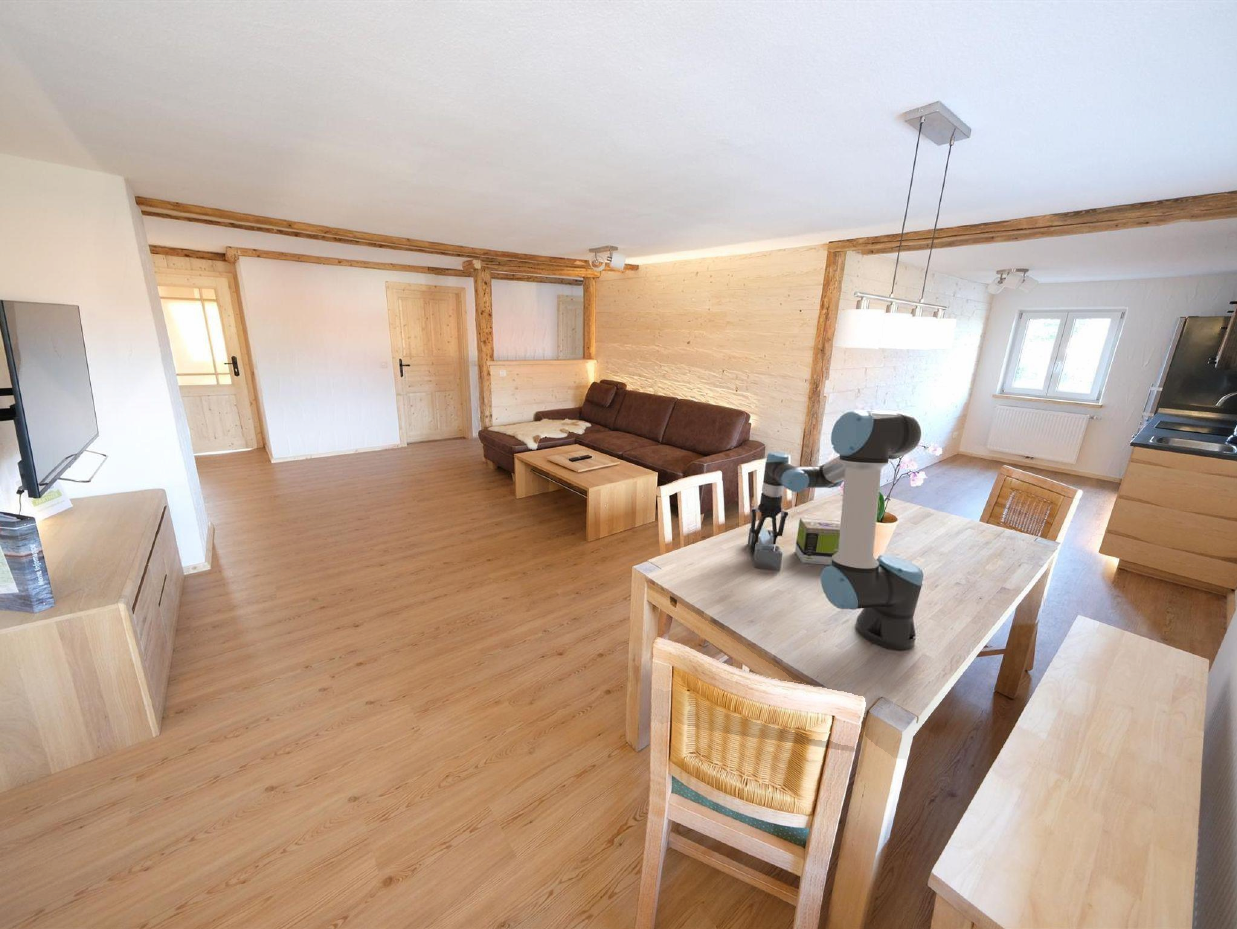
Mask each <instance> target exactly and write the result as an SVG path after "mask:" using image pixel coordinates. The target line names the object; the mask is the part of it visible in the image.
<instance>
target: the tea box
mask: <svg viewBox="0 0 1237 929" xmlns="http://www.w3.org/2000/svg"><path fill="white" fill-rule="evenodd" d="M798 522H799V523H798V529H797V536H796V542H795V551H794V552H795V554H796V555H797V557H798V559H799V560H800V562H801V563H802V564H811V565H813V564H815V565H826V566H831V562H832V556H833V555H834V554H835V553H837V552H838V550H839V537H840V524H841V521H840V520H834V519H833V520H832V519H819V518H802V517H800V518H799V521H798Z"/></svg>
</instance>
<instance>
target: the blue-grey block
mask: <svg viewBox="0 0 1237 929" xmlns="http://www.w3.org/2000/svg"><path fill="white" fill-rule="evenodd" d="M767 530H768V529H762V530H761V531H760V535H761V539H760V549H761V550H768V551H775V545H774V544H773V542H772V540H771V538H770V535H769V533H768V531H767ZM755 545H756V543H755Z"/></svg>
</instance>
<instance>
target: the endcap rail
mask: <svg viewBox="0 0 1237 929" xmlns="http://www.w3.org/2000/svg"><path fill="white" fill-rule="evenodd" d="M750 529H751V527H750V528H749V530H748V531H749V532H748V538H747V547H748V550H749V553H750V556H751V561H752V565H753V568H754V569H759V570H770V571H778V572H780V571H781V566H782V559H783V551H781V548H780V546H779V545H778V546H777V545H774V551H768V550H761V549H760V546H759V544H756V545H755V541H754V537H755V534H752V533H751V530H750ZM755 530H756V528H755ZM761 530H763V529H761ZM766 530H767V531H768V533H769V535H773V530H772V529H770V530H769V529H766Z"/></svg>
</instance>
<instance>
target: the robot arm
mask: <svg viewBox="0 0 1237 929" xmlns="http://www.w3.org/2000/svg"><path fill="white" fill-rule="evenodd" d="M921 439H922V429H921V425H920V424H919V422H918V421H917V420H916V418H915V417H913V416H912V415H911V414H909V413H907V412H904V411H900V410H899V411H898V410H890V411H889V410H866V409H863V410H851V411H847V412H845V413H842V415H841V416H840V417H839V418H838V419H837V420H836V421H835V423H834V425H833V427H832V431H831V434H830V442H831V445H832V449H833V451H834V452H835V453H836V454H838V455H837V456H836V457H833V459H831V460H829V461H827V462H826V463H823V464H822V465H808V466H807V465H806V466H802V465H801V466H799V465H796V466H795V465H792V464H790V463H789V455H788V454H786V453H785V452H780V451H770V452H769V453H767V455H766V459H765V460H766V461H765V464H764V470H763V471H764V474H763V482H762V487H761V493H760V494H761V495H760V502H759V504H758V506H756V507H754V506H751V508H750V511H751V520H750V521H751V523H750V528H751V529H750V528H749V529H750V530H751V533H752V534H755V537H754V541H755V543H756V544H759V546H760V539H761V535H760V531H761V529H762V528H763V526H764V523H765V521H766V519H767V518H770V519H771V527H772V529H771V530H773V535H770V538H771V540H772V542H773V544H774V546H776V545H777V539H778V537H782V536H783V534H784V530H785V524H786V520H787V517H788V515H789V512H788V510H787V509H783V508H782V502H783V495H784V490H785V489H787V490H788V491H791V492H792V493H800V492H801V493H802V491H804V490H806V489H816V488H817V489H819V488H820V489H822V488H824V489H825V488H826V489H832V488H838V487H840V486H841V485H842V484H843V486H842V488H843V489H842V499H841V500H842V503H841V513H840V523H841V524H840V537H839V550H838V552H837V553H835V554H834V555H833V556H832V562H831V565H826V567H824V568H823V569H822V570H821V574H820V585H821V588H822V589H821V590H822V591H823V593H824V595H825V598H826V599H827V600H828V602H829V603H830V604H832V605H833V607H835V608H837V609H840V610H853V611H855V610H858V609H861V611H860V613H859V614H858V615H857V617H856V621H855V629H856V631H857V632H858V633H859V634H860V636H862V637H863V638H864V639H866V640H867V641H869V642H871V643H873V644H874V645H877V646H880V647H882V648H886V649H889V650H892V651H893V650H894V651H906V650H910V649H911V648H913V647H914V645H915V642H916V638H917V635H916V628H915V622H914V621H915V620H914V616H915V612H916V608H917V604H918V601H919V598H920V594H921V590H922V587H923V585H924V584H923V581H924V580H923V579H924V572H923V570H922V569H921V568H920V567H919V566H918V565H916V564H915V563H913V562H911V561H909V560H907V559H904V558H901V557H898V556H895V555H890V554H881V555H878V557H877V558H875V557H874V555H875V554H874V552H875V540H876V532H877V531H876V529H877V520H878V519H877V518H878V506H879V505H878V504H879V495H880V483H881V476H882V475H881V473H882V469H883V468H884V467H885V466H888V464H889V461H890V460H896V459H899V458H901V457H903V456H905V455H907V454H909V453H910V452H912V451H914V450H915V449H916V447H918V445H919V444H920V441H921ZM758 511H759V512H760V517H759V520H758V522H757V520H756V519H757V514H758ZM779 514H780V515H781V516H780V520H779V524H778V525H777V516H778V515H779ZM756 522H757V526H756ZM777 526H778V527H777ZM755 529H756V530H755ZM762 530H763V529H762Z"/></svg>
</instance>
